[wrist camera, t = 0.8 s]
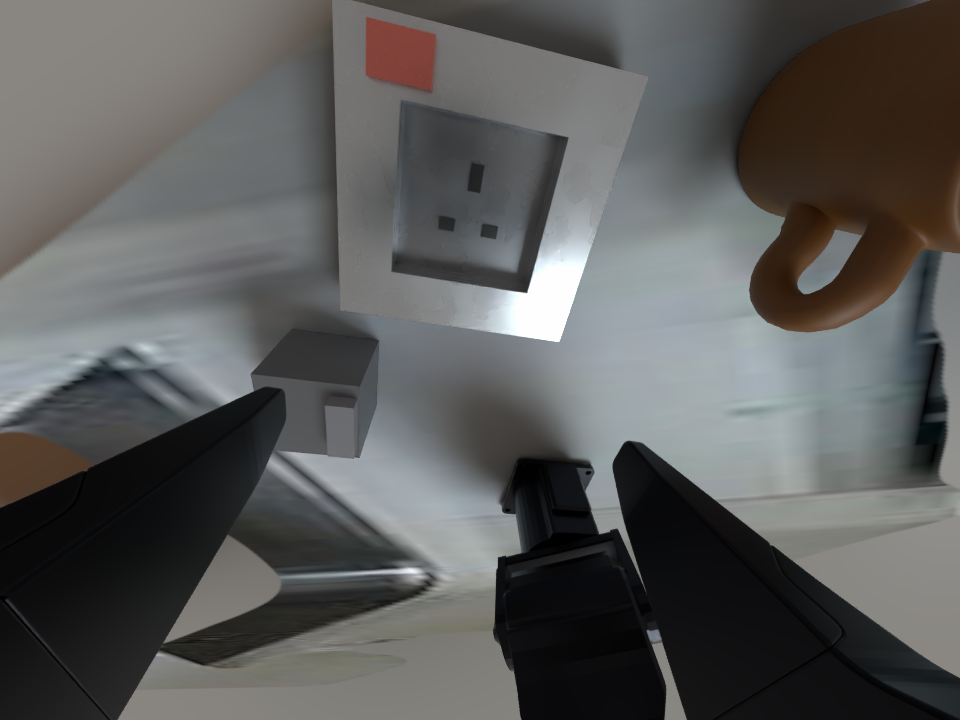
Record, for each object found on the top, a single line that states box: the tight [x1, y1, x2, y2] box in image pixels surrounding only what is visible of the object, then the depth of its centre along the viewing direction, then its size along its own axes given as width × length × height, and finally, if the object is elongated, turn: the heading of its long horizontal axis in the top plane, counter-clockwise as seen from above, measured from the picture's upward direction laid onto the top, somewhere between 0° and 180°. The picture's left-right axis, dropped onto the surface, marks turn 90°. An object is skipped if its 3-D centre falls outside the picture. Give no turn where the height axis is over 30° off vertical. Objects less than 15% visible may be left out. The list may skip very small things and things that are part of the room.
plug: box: [251, 329, 379, 459], centre depth 21 cm, size 5×5×6 cm
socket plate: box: [332, 0, 649, 342], centre depth 17 cm, size 12×12×3 cm
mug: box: [738, 0, 960, 332], centre depth 14 cm, size 12×8×9 cm, turn 148°
